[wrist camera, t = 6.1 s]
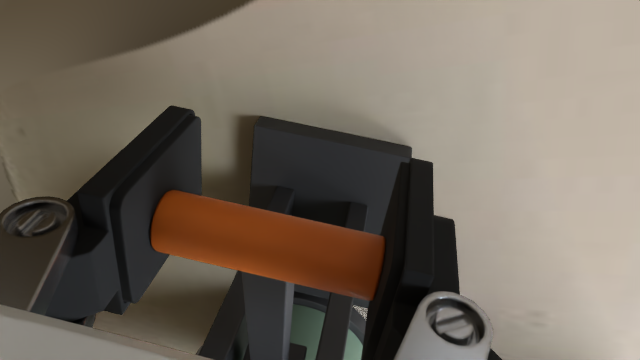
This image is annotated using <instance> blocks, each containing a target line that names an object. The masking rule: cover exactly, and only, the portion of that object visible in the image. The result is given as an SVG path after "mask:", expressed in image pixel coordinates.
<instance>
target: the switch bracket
mask: <svg viewBox="0 0 640 360" xmlns="http://www.w3.org/2000/svg"><path fill="white" fill-rule="evenodd" d="M410 158H412V148H411V147H408V146H403V145H398V144H394V143H389V142H384V141H379V140H374V139H369V138H365V137H360V136H355V135H350V134H345V133H340V132H336V131H331V130H326V129H321V128H316V127H311V126H307V125H302V124H297V123H292V122H287V121H282V120H278V119H273V118H268V117H263V116H260V118H259V119H258V121H257V122H256V124H255V125H254V136H253V152H252V167H251V183H250V199H249V206H250V207H254V208H259V209H263V210H268V211H272V212H277V213H281V214H286V215H290V216H295V217H299V218H304V219H308V220H313V221H317V222H322V223H326V224H331V225H335V226H340V227H344V228H349V229H353V230H358V231H362V232H367V233H371V234H376V235H380V233H381V229H382V226H383V222H384V219H385V215H386V212H387V208H388V205H389V201H390V198H391V194H392V190H393V187H394V183H395V180H396V176H397V173H398V169H399V166H400V163H401V161H402V162H406V163H409V160H410ZM294 291H296V292H300V293H305V294H309V295H313V296H317V297H322V298H326V299H329V300H328V304H327V309H326V313H325V318H324V322H323V327H322V331H321V336H320V340H319V345H318V349H317V354H316V358H315V360H344V354H345V348H346V342H347V336H348V329H349V323H350V317H351V311H352V305H356V306H360V307H364V308H368V305H369V301H367V300H363V299H358V298H354V297H350V296H345V295H341V294H337V293H333V292H328V291H324V290H320V289H315V288H311V287H307V286H303V285H298V284H294ZM247 345H248V332H247V322H246V313H245V303H244V293H243V283H242V273H241V271H237V273H236V276H235V278H234V280H233V282H232V284H231V286H230V288H229V290H228V293H227V295H226V297H225V299H224V301H223V303H222V305H221V308H220V310H219V312H218V314H217V316H216V318H215V320H214V322H213V325H212V327H211V329H210V331H209V333H208V335H207V337H206V340H205V342H204V344H203V346H201V347H200V348H199V350H198V352H197V353H196V355H198V356H202V357H206V358H210V359H214V360H243V358H244V355H245V352H246V349H247Z"/></svg>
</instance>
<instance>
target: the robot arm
mask: <svg viewBox="0 0 640 360" xmlns="http://www.w3.org/2000/svg"><path fill="white" fill-rule="evenodd" d="M170 190H178V191H182V192H187V193H191V194H196V195H200V196H202V177H201V119H200V118H199V117H197V116H195V113H194V111H193V110H191V109H186V108H181V107H177V106H169V107H168V108H167V109H166V110H165V111H164V112H163V113H161V114H160V115H159V116H158V117H157V118H156V119H155V120H154V121H153V122H152V123H151V124H150V125H149V126H147V127H146V128H145V129H144V130H143V131H142V132H141V133H140V134H139V135H138V136H137V137H136V138H135V139H133V140H132V141H131V142H130V143H129V144H128V145H127V146H126V147H125V148H124V149H122V150H121V151H120V152H119V153H118V154H117V155H116V156H115V157H114V158H113V159H111V160H110V161H109V162H108V163H107V164H106V165H105V166H104V167H103V168H102V169H101V170H100V171H99V172H97V173H96V174H95V175H94V176H93V177H92V178H91V179H90V180H89V181H88V182H87V183H86V184H84V185H83V186H82V187H81V188H80V189H79V190H78V191H77V192H76V193H75V194H74V195H73V196H72V197H70V198H69V199H68V200H67V201H65V200H63V199H60V198H55V197H35V198H30V199H25V200H23V201H20V202H17V203H15V204H13V205H11V206H9V207H8V208H6V209H5V210H3V211H2V212H1V213H0V360H214V359H210V358H206V357H202V356H198V355H194V354H191V353H187V352H183V351H179V350H175V349H172V348H168V347H164V346H160V345H156V344H152V343H148V342H145V341H141V340H137V339H133V338H129V337H125V336H122V335H118V334H114V333H110V332H106V331H102V330H98V329H94V328H92V327H93V324H94V321H95V315H96V313H98V312H101V311H103V310H104V311H108V312H112V313H115V314H119V315H123V313H124V312H125V310H126V309H127V307H128V306H129V304H130V303H137V302H138V301H139V300H140V298H141V297H142V295H143V294H144V292H145V291H146V289H147V288H148V286H149V285H150V283H151V282H152V280H153V279H154V277H155V276H156V274H157V273H158V271H159V270H160V268H161V267H162V265H163V264H164V262H165V261H166V259H167V258H168V256H169V255H170V254H166V253H161V252H157V251H156V250H155V249H153V247H152V245H151V241H150V229H151V223H152V219H153V215H154V212H155V210H156V207H157V205H158V203H159V201H160V199H161V198H162V197H163V195H164V194H165V193H166V192H168V191H170ZM380 236H383V237H385V239H386V251H385V257H384V263H383V268H382V273H381V277H380V281H379V285H378V289H377V292H376V295H375V297H374V299H373V300H372V301H369V305H368V312H367V319H366V326H365V334H364V341H363V348H362V356H361V360H502V359H501V358H500V357H499V356H498V355H497V354H496V353H495V352H494V351H493V350H492V349H491V348H490V347H491V343H492V339H493V328H492V325H491V322H490V319H489V318H488V316H487V315H486V313H485V312H484V311H483V310H482V309H481V308H480V307H479V306H478V305H477V304H476V303H475V302H473V301H472V300H470V299H468V298H466V297H465V296H462V295H460V291H459V277H458V263H457V249H456V236H455V224H454V221H453V219H448V218H444V217H440V216H435V215H434V207H433V163H432V162H428V161H424V160H419V159H415V158H410V160H409V163H406V162H402V161H401V163H400V166H399V169H398V173H397V176H396V180H395V183H394V187H393V190H392V194H391V198H390V201H389V205H388V208H387V212H386V215H385V219H384V222H383V226H382V229H381V233H380Z"/></svg>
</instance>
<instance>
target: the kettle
mask: <svg viewBox="0 0 640 360" xmlns="http://www.w3.org/2000/svg"><path fill="white" fill-rule="evenodd" d="M328 300H329V299H326V298H322V297H317V296H313V295H309V294H305V293H300V292H296V291H294V296H293V309H292V322H291V335H290V342H291V343H295V344H299V345H303V346H306V347H307V351H306V358H305V360H315V358H316V354H317V349H318V345H319V340H320V336H321V331H322V327H323V322H324V318H325V313H326V309H327V304H328ZM365 326H366V321H365V319H364V318H363V317H362V316H361V315H360V314H359V313H358V312H357V311H356V310H355V309H354V308H352V311H351V317H350V323H349V329H348V336H347V342H346V348H345V354H344V360H361V356H362V348H363V341H364V334H365Z"/></svg>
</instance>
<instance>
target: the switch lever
mask: <svg viewBox="0 0 640 360" xmlns="http://www.w3.org/2000/svg"><path fill="white" fill-rule="evenodd" d="M150 241H151V245H152V247H153V249H155V250H156V251H157V252H161V253H166V254H170V255H174V256H178V257H183V258H187V259H191V260H196V261H200V262H204V263H208V264H213V265H217V266H221V267H226V268H230V269H234V270H238V271H241V273H242V283H243V293H244V303H245V313H246V322H247V332H248V345H247V349H246V352H245V355H244V358H243V360H305V358H306V351H307V347H306V346H303V345H299V344H295V343H291V342H290V335H291V322H292V309H293V296H294V284H298V285H303V286H307V287H311V288H315V289H320V290H324V291H328V292H333V293H337V294H341V295H345V296H350V297H354V298H358V299H363V300H367V301H372V300H373V299H374V297H375V295H376V292H377V289H378V285H379V281H380V277H381V273H382V268H383V263H384V257H385V251H386V239H385V237H383V236H380V235H376V234H371V233H367V232H362V231H358V230H353V229H349V228H344V227H340V226H335V225H331V224H326V223H322V222H317V221H313V220H308V219H304V218H299V217H295V216H290V215H286V214H281V213H277V212H272V211H268V210H263V209H259V208H254V207H250V206H245V205H241V204H236V203H232V202H227V201H223V200H218V199H214V198H209V197H205V196H200V195H196V194H191V193H187V192H182V191H178V190H170V191H168V192H166V193H165V194H164V195H163V197H162V198H161V199H160V201H159V203H158V205H157V207H156V210H155V212H154V215H153V219H152V223H151V229H150Z"/></svg>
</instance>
